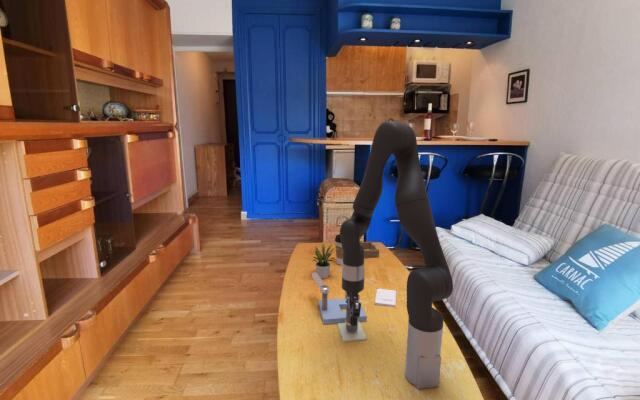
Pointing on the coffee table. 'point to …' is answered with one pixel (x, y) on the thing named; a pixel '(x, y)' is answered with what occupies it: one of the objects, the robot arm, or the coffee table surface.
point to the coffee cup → (339, 250)
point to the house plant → (323, 261)
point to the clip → (321, 283)
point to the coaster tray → (370, 253)
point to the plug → (347, 321)
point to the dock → (335, 310)
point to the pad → (351, 333)
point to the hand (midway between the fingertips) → (352, 320)
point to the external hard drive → (385, 297)
